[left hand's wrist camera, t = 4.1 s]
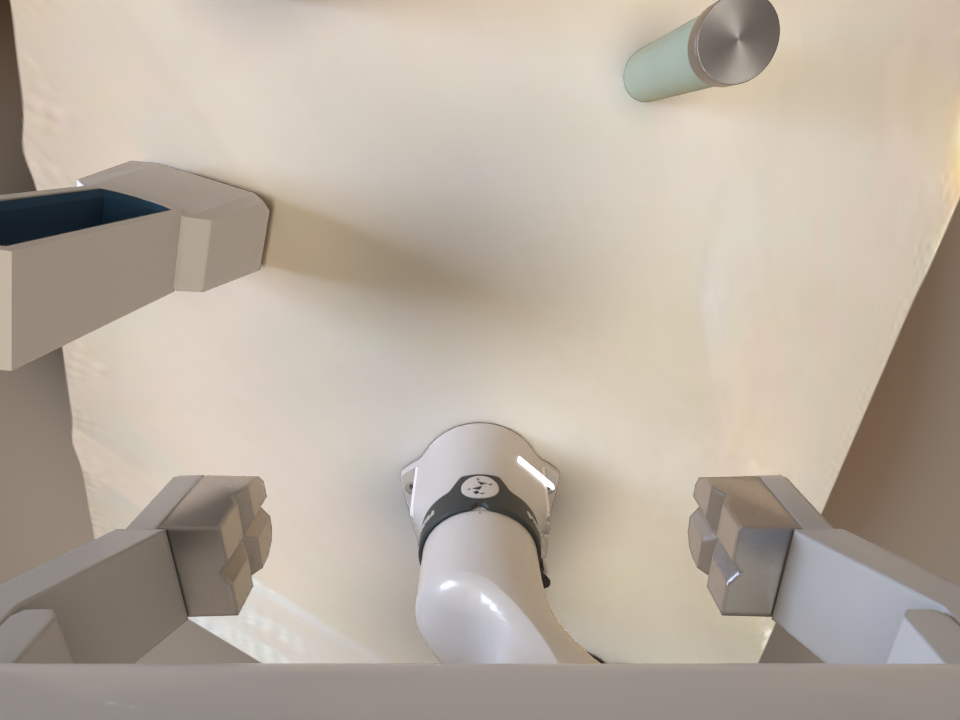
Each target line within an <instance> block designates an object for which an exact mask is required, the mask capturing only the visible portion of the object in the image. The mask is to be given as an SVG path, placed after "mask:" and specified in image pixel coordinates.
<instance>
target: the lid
mask: <svg viewBox="0 0 960 720" xmlns="http://www.w3.org/2000/svg"><path fill="white" fill-rule="evenodd" d="M779 35H780V25H779V19H778V16H777V13H776V11H775V9H774V7H773V6H772V4H771V3H770V2H769V1H768V0H719V1H717V2H715V3H714V4H712V5H711V6H709V7H708V8H707V9H706V10H705V11H704V12H703V13H702V14H701V15H700V16H699V17H698V19H697V20H696V22H695V24H694V26H693V27H692V30H691V32H690V36H689V40H688V59H689V63H690V66H691V68H692V70H693V72H694V73H695V75H696V76H697V77H698V78H699V79H700V80H701V81H703V82H704V83H706V84H708V85H711V86H714V87H728V86H732V85H737V84H741V83H744V82H747V81H749V80H751V79H753V78H754V77H756V76H757V75H758V74H760V73H761V72H762V71H763V70H764V69H765V68H766V66H767V65H768V64H769V62H770V61H771V59H772V58H773V56H774V53H775V51H776V49H777V46H778V41H779Z"/></svg>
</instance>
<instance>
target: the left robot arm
mask: <svg viewBox="0 0 960 720" xmlns="http://www.w3.org/2000/svg"><path fill="white" fill-rule="evenodd" d="M401 484H402V488H403V491H404V494H405V498H406V501H407V505H408V508H409V511H410V515H411V518H412V522H413V525H414V528H415V532H416V535H417V539H418V542H419V543H418V546H419V561H420V565H421V569H420V576H419V583H418V590H417V598H416V605H415V616H416V622H417V626H418V629H419V632H420V634H421V636H422V638H423V639H424V641H425V643H426V644H427V646H428V647H429V649H430V650H431V652H432V653H433V654H434V656H435V657H436V658H437V659H438V660H439V661H440V662H441V663H442V664H134V663H135V662H137V661H138V660H139V659H140V658H141V657H143V656H144V655H145V654H146V653H148V652H149V651H150V650H151V649H152V648H154V647H155V646H156V645H157V644H159V643H160V642H161V641H162V640H163V639H165V638H166V637H167V636H168V635H169V634H171V633H172V632H173V631H174V630H176V629H177V628H178V627H179V626H180V625H182V624H183V623H184V622H185V621H187V620H188V617H195V616H230V615H238V614H239V613H240V611H241V609H242V607H243V605H244V603H245V601H246V599H247V597H248V595H249V593H250V591H251V589H252V587H253V582H252V577H251V575H253V574H254V573H256V572H257V571H259V570H260V569H261V568H263V566H264V564H265V562H266V560H267V558H268V555H269V550H270V546H271V541H272V525H271V519H270V516H269V515H268V514H267V513H266V512H265V511H264V510H263V509H262V508H261V505H262V504H263V502H264V500H265V499H266V497H267V495H266V490H265V485H264V481H263V480H262V479H261V478H260V477H256V476H204V475H181V476H177V477H174V478H173V479H172V480H171V481H170V482H169V483H168V484H167V485H166V486H165V487H164V488H163V489H162V491H161V492H160V493H159V494H158V495H157V496H156V497H155V498H154V499H153V500H152V501H151V502H150V503H149V505H148V506H147V507H146V508H145V509H144V510H143V511H142V512H141V513H140V514H139V515H138V516H137V518H136V519H135V520H134V521H133V522H132V523H131V524H130V525H129V526H128V527H127V528H126V529H116V530H114V531H112V532H110V533H108V534H106V535H104V536H102V537H99V538H97V539H95V540H93V541H91V542H89V543H87V544H85V545H83V546H81V547H79V548H77V549H74V550H72V551H70V552H68V553H66V554H64V555H62V556H60V557H58V558H56V559H54V560H52V561H49V562H47V563H45V564H43V565H41V566H39V567H37V568H35V569H33V570H31V571H29V572H26V573H24V574H22V575H20V576H18V577H16V578H14V579H12V580H10V581H8V582H6V583H3V584H1V585H0V720H960V585H958V584H956V583H954V582H952V581H950V580H948V579H946V578H944V577H942V576H940V575H938V574H935V573H933V572H931V571H929V570H927V569H925V568H923V567H921V566H919V565H917V564H915V563H912V562H910V561H908V560H906V559H904V558H902V557H900V556H898V555H896V554H894V553H892V552H890V551H888V550H885V549H883V548H881V547H879V546H877V545H875V544H873V543H871V542H869V541H867V540H865V539H862V538H860V537H858V536H856V535H854V534H852V533H850V532H848V531H846V530H844V529H834V528H833V527H832V526H831V525H830V524H829V523H828V522H827V521H826V520H825V519H824V518H823V516H822V515H821V514H820V513H819V512H818V511H817V510H816V509H815V508H814V507H813V506H812V505H811V503H810V502H809V501H808V500H807V499H806V498H805V497H804V496H803V495H802V494H801V493H800V492H799V490H798V489H797V488H796V487H795V486H794V485H793V484H792V483H791V482H790V481H789V480H788V479H787V478H786V477H784V476H781V475H765V476H741V477H699V478H698V480H697V482H696V484H695V489H694V495H693V497H694V499H695V500H696V502H697V504H698V505H699V508H698V509H697V510H696V511H695V512H694V513H693V514H692V515H691V516H690V519H689V527H688V539H689V548H690V551H691V554H692V558H693V560H694V562H695V564H696V566H697V568H699V569H700V570H701V571H703V572H704V573H706V574H707V575H709V577H708V582H707V588H708V589H709V591H710V593H711V595H712V597H713V599H714V601H715V603H716V605H717V607H718V609H719V611H720V612H721V614H722V615H729V616H765V617H772V620H774V621H775V622H776V623H777V624H779V625H780V626H781V627H782V628H783V629H785V630H786V631H787V632H788V633H789V634H791V635H792V636H793V637H794V638H796V639H797V640H798V641H799V642H800V643H802V644H803V645H804V646H805V647H807V648H808V649H809V650H810V651H811V652H813V653H814V654H815V655H816V656H818V657H819V658H820V659H821V660H822V661H824V662H825V663H826V664H604V663H603V662H602V661H600V660H599V659H597V658H595V657H593V656H591V655H590V654H588V653H587V652H586V651H585V650H584V649H583V648H582V647H581V646H580V645H578V644H577V643H576V642H575V641H574V640H573V639H572V637H571V636H570V635H569V634H568V633H567V632H566V631H565V630H564V628H563V627H562V626H561V625H560V623H559V622H558V621H557V619H556V618H555V616H554V615H553V613H552V611H551V609H550V607H549V604H548V601H547V598H546V594H545V591H544V588H547V587H549V585H550V580H549V578H548V577H547V576H546V575H544V574H543V569H544V568H543V561H542V558H545V557H546V554H547V539H545V538H543V535H544V534H548V533H549V530H550V522H549V521H548V518H549V515H550V511H551V508H552V505H553V501H554V498H555V494H556V491H557V488H558V484H559V472H558V470H557V469H556V468H554V467H553V466H552V465H550V464H548V463H547V462H545V461H543V460H541V459H540V458H539V457H538V456H537V454H536V453H535V452H534V450H533V449H532V447H531V446H530V445H529V444H528V443H527V442H526V441H525V440H524V439H523V438H522V437H521V436H519V435H518V434H516V433H515V432H513V431H511V430H509V429H507V428H504V427H501V426H498V425H494V424H487V423H473V424H466V425H462V426H459V427H456V428H453V429H451V430H449V431H447V432H445V433H444V434H442V435H441V436H439V437H438V438H437V439H436V440H435V441H434V442H433V443H432V444H431V445H430V446H429V447H428V449H427V450H426V452H425V453H424V454H423V456H422V457H421V458H420V459H419V460H417V461H415V462H413V463H412V464H410V465H408V466H407V467H406V468H404V469H403V470H402V472H401ZM411 484H413V487H412V486H410V485H411ZM547 486H548V487H547Z"/></svg>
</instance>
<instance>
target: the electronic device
mask: <svg viewBox="0 0 960 720" xmlns="http://www.w3.org/2000/svg"><path fill="white" fill-rule="evenodd" d="M269 212H270V211H269V209H268V208H267V206H266V204H265V203H264V201H263V200H261V199H260V198H259V197H258V196H257V195H256V194H255V193H253V192H249V191H246V190H243V189H240V188H236V187H233V186H230V185H227V184H223V183H220V182H217V181H214V180H210V179H207V178H204V177H201V176H198V175H194V174H191V173H188V172H185V171H181V170H178V169H175V168H172V167H168V166H165V165H162V164H159V163H149V162H139V161H129V162H126V163H123V164H120V165H118V166H115V167H112V168H109V169H106V170H104V171H101V172H98V173H95V174H92V175H89V176H87V177H84V178H81V179H78V180H77V187H69V188H60V189H51V190H42V191H33V192H24V193H15V194H7V195H0V370H9V371H12V370H14V369H16V368H18V367H20V366H22V365H24V364H26V363H28V362H31V361H33V360H35V359H37V358H39V357H41V356H43V355H45V354H47V353H49V352H51V351H53V350H55V349H57V348H59V347H61V346H63V345H65V344H67V343H69V342H72V341H74V340H76V339H78V338H80V337H82V336H84V335H86V334H88V333H90V332H92V331H94V330H96V329H98V328H100V327H102V326H104V325H106V324H108V323H110V322H112V321H115V320H117V319H119V318H121V317H123V316H125V315H127V314H129V313H131V312H133V311H135V310H137V309H139V308H141V307H143V306H145V305H147V304H149V303H151V302H153V301H155V300H157V299H160V298H162V297H164V296H166V295H168V294H170V293H172V292H174V291H175V290H177V291H190V292H204V291H207V290H209V289H212V288H214V287H217V286H220V285H222V284H225V283H227V282H230V281H232V280H235V279H237V278H240V277H242V276H245V275H248V274H250V273H253V272H255V271H258V270H260V266H261V260H262V254H263V248H264V242H265V236H266V230H267V224H268V218H269Z"/></svg>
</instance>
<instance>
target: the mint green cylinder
mask: <svg viewBox="0 0 960 720" xmlns="http://www.w3.org/2000/svg"><path fill="white" fill-rule="evenodd" d="M699 16H700V15H699ZM699 16H698V17H699ZM698 17H696V18H694V19H692V20H691V21H689V22H687V23H685V24H684V25H682V26H680V27H679V28H677V29H675V30H673V31H672V32H670V33H668V34H666V35H665V36H663V37H661V38H659V39H658V40H656V41H654V42H653V43H651V44H649V45H647V46H646V47H644V48H642V49H640V50H639V51H637V52H636V53H635V54H634V55H632V57H631V58H630V59H629V61H628V63H627V65H626V67H625V71H624V84H625V87H626V90H627V91H628V93H629V94H630V95H631V96H632V97H633V98H634V99H636V100H638V101H641V102H651V101H655V100H659V99H664V98H668V97H672V96H676V95H681V94H685V93H689V92H693V91H697V90H702V89H706V88H710V87H714V86H711V85H708V84H706V83H704V82H703V81H701V80H700V79H699V78H698V77H697V76H696V75H695V73H694V72H693V70H692V68H691V66H690V63H689V59H688V40H689V36H690V32H691V30H692V27H693V26H694V24H695V22H696V20H697V19H698Z"/></svg>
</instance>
